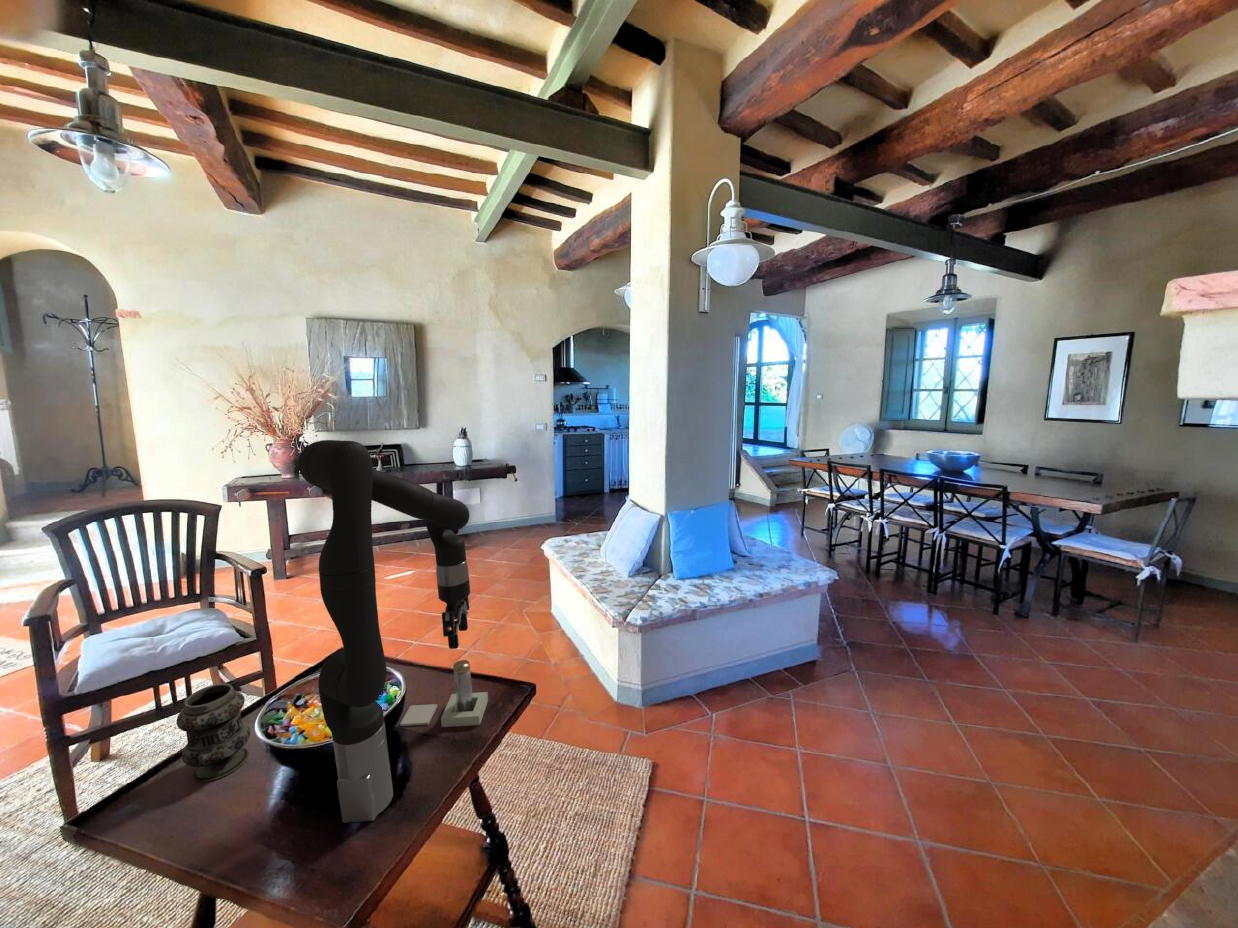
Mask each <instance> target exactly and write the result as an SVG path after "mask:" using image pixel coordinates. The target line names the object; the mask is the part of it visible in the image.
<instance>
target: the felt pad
mask: <svg viewBox="0 0 1238 928" xmlns="http://www.w3.org/2000/svg"><path fill="white" fill-rule="evenodd" d="M437 708H438V704H437V703H434V704H433V703H432V704H417V705H410V706H409V708H408V709H407V710H406V713H405V714H404V716H403V717H402V720H401V722H400V723H399V726H400V727H410V726H423V725H424V726H426V725H427V726H428V725H429V724H430V723H431V720H432V718H433V716H434V713H435V712H436V710H437Z"/></svg>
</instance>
